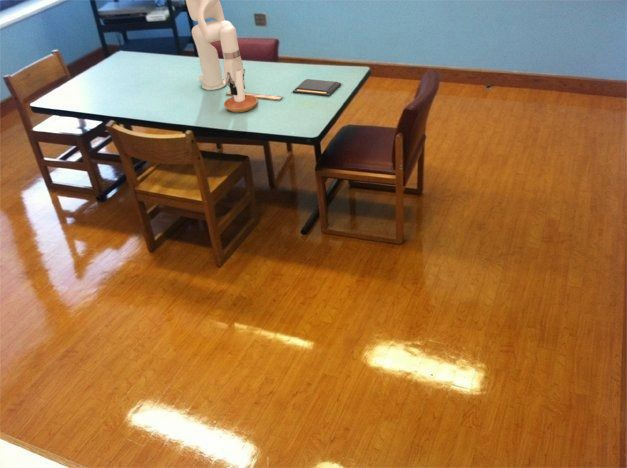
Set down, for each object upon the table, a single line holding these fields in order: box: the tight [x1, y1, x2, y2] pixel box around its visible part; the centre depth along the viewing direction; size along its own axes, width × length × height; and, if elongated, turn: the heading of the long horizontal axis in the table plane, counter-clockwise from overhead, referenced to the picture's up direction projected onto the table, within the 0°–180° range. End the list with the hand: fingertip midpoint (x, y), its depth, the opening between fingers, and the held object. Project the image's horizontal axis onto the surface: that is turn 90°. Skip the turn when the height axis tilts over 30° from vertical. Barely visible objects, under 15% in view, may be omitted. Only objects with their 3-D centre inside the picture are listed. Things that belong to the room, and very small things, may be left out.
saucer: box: [223, 95, 259, 113], centre depth 284 cm, size 16×16×3 cm
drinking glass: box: [230, 69, 246, 102], centre depth 278 cm, size 7×7×15 cm
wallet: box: [292, 78, 342, 97], centre depth 293 cm, size 20×2×15 cm
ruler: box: [226, 90, 283, 102], centre depth 293 cm, size 30×3×1 cm, turn 65°
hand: (238, 91), depth 280 cm, fingers closed on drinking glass, 6 cm apart
